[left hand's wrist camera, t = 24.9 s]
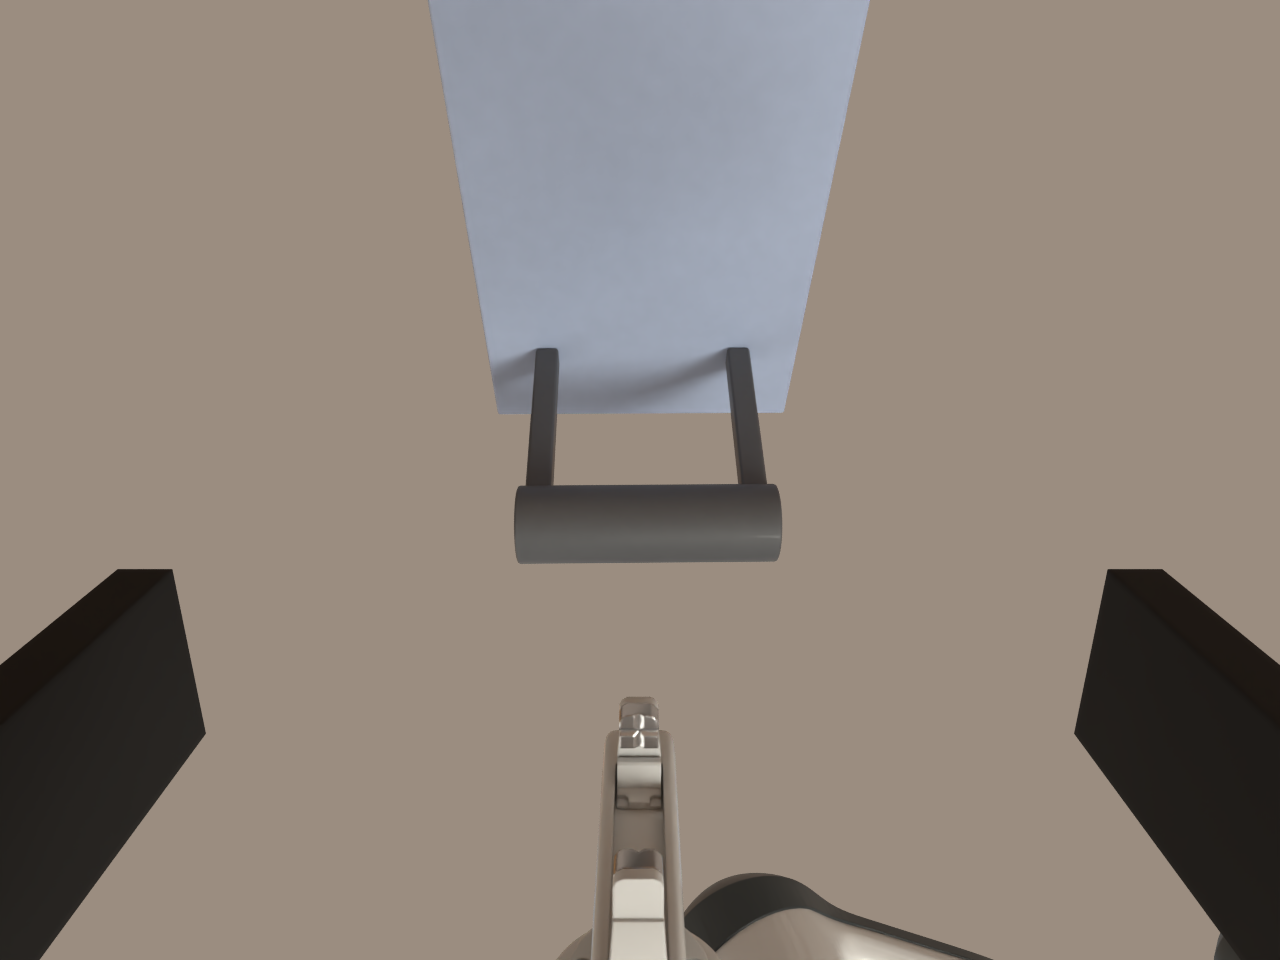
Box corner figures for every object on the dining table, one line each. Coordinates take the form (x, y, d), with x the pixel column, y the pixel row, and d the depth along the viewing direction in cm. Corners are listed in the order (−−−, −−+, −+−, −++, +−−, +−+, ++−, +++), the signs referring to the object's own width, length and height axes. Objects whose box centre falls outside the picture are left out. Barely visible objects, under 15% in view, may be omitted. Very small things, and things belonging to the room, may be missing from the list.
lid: (780, 390, 31) (813, 606, 26) (500, 391, 31) (477, 610, 25) (865, -35, 20) (952, 193, 15) (430, -38, 20) (366, 193, 15)
